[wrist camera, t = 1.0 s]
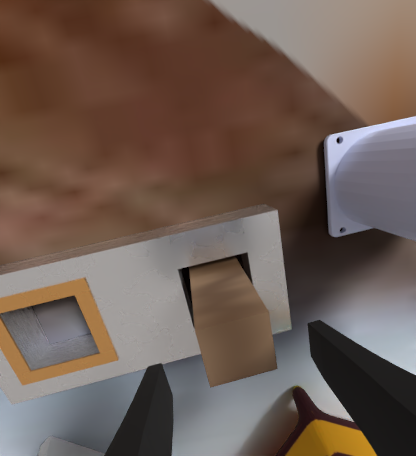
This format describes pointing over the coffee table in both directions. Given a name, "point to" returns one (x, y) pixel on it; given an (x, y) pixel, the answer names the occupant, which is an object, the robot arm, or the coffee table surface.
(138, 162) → the coffee table surface
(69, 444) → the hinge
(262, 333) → the walnut peg
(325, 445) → the decorative lantern
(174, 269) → the peg-in-hole board
